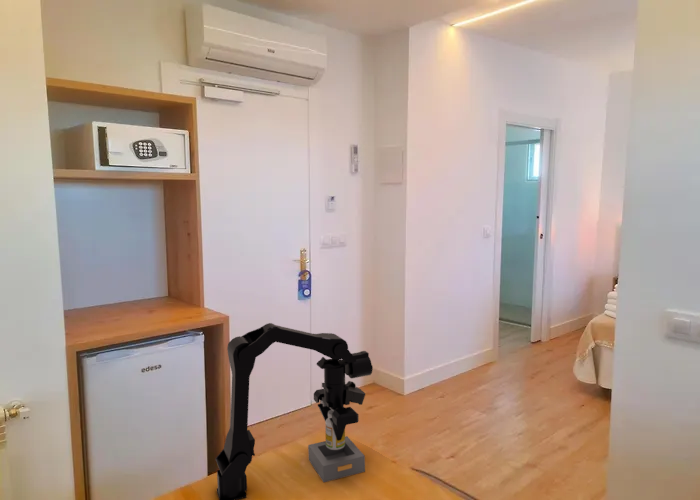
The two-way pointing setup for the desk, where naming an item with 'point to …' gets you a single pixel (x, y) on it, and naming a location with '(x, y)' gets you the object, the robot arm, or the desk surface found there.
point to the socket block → (336, 460)
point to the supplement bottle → (333, 435)
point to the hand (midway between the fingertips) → (335, 435)
